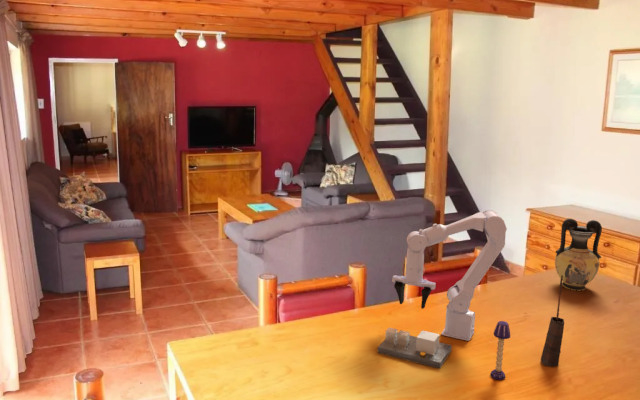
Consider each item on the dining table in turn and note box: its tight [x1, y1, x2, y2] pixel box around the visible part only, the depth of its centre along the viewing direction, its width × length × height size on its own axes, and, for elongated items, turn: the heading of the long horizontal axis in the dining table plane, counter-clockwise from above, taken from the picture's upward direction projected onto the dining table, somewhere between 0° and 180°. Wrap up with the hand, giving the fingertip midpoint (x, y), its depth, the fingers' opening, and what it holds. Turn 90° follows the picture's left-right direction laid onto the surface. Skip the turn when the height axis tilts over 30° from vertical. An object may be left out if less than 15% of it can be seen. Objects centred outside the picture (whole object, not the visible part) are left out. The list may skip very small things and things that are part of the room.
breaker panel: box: [377, 327, 453, 370], centre depth 174 cm, size 20×13×6 cm, turn 62°
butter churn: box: [540, 275, 565, 368], centre depth 166 cm, size 9×10×28 cm
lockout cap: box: [416, 330, 441, 355], centre depth 172 cm, size 6×6×4 cm
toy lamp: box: [489, 320, 511, 381], centre depth 160 cm, size 5×5×17 cm
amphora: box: [554, 218, 603, 292], centre depth 232 cm, size 18×17×30 cm
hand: (412, 305), depth 188 cm, fingers open, 7 cm apart
